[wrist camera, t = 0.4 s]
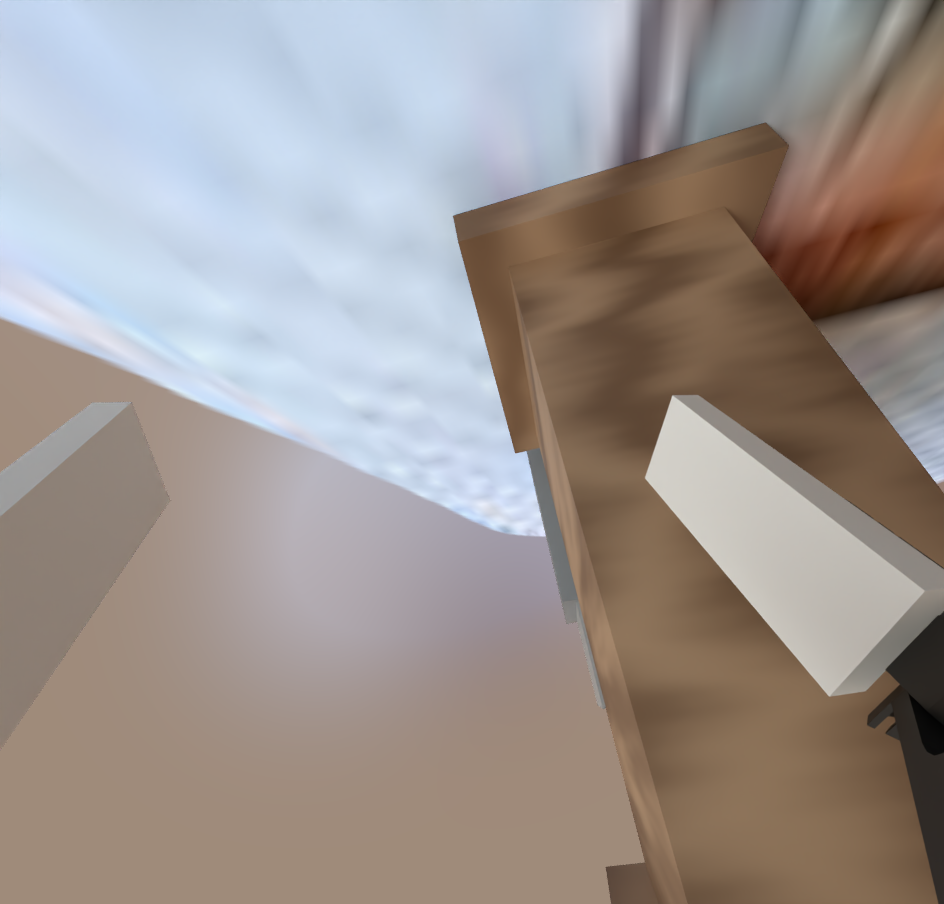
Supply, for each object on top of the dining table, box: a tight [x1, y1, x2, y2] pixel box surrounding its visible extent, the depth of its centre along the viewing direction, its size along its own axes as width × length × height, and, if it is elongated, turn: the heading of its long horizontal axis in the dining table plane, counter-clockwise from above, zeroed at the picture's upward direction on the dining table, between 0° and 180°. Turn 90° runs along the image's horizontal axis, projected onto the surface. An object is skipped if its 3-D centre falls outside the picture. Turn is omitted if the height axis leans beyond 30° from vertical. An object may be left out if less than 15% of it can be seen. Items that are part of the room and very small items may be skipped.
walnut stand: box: [453, 123, 944, 904], centre depth 20 cm, size 14×20×30 cm
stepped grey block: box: [527, 448, 606, 709], centre depth 38 cm, size 12×12×21 cm
